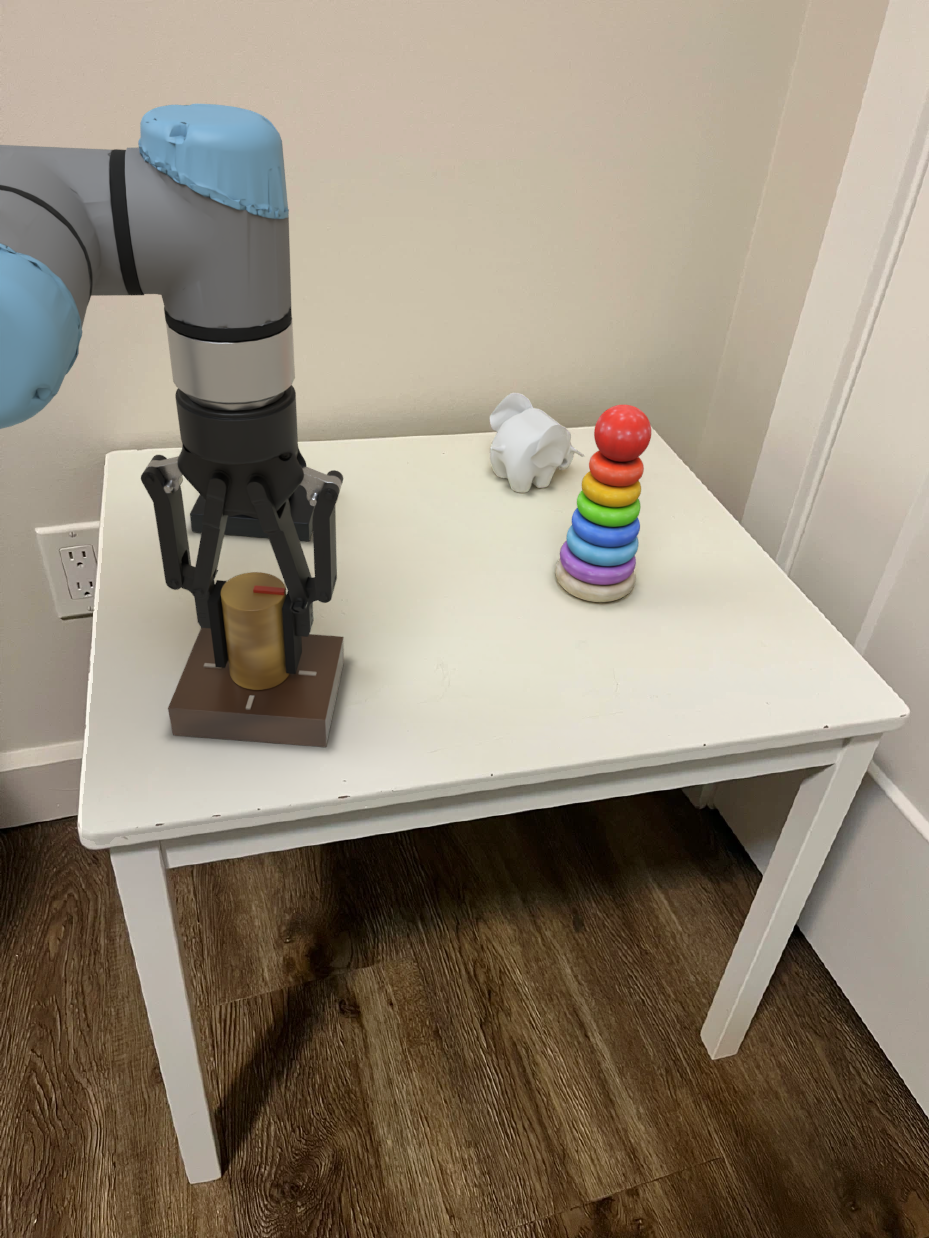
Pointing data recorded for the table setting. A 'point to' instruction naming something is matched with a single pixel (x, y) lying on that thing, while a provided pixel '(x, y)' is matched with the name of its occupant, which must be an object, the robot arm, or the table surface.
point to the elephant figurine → (528, 444)
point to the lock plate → (259, 697)
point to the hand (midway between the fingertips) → (259, 658)
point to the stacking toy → (607, 511)
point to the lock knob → (255, 629)
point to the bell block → (252, 526)
